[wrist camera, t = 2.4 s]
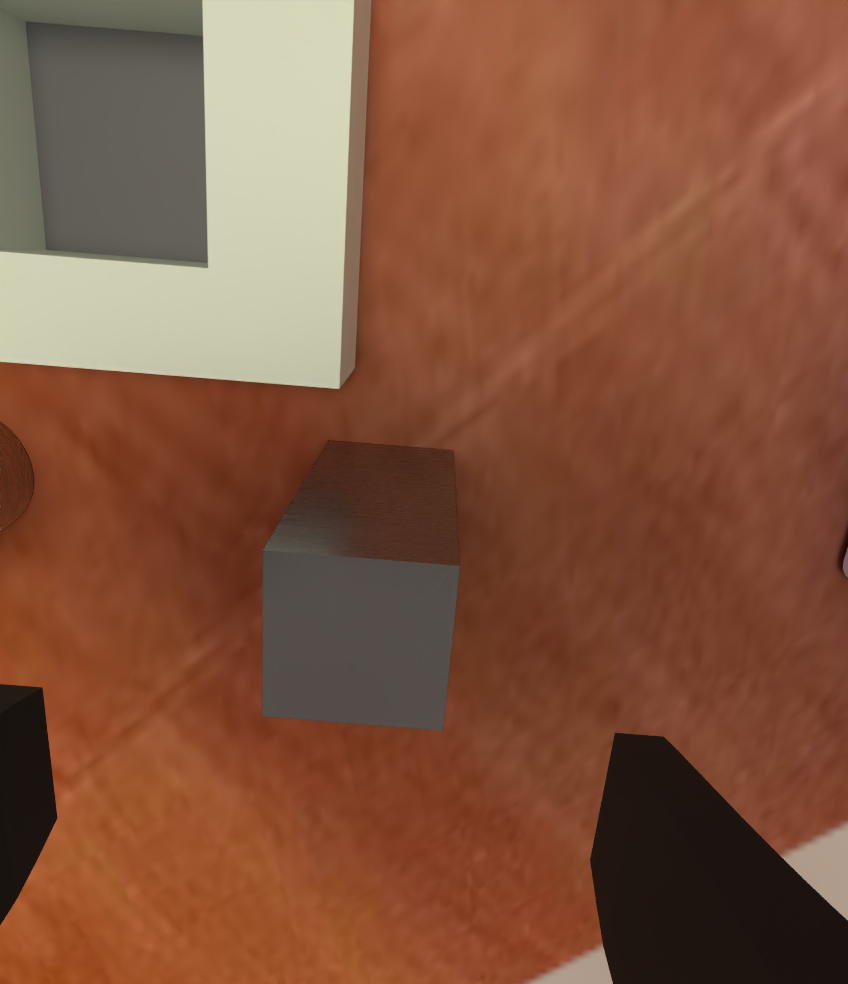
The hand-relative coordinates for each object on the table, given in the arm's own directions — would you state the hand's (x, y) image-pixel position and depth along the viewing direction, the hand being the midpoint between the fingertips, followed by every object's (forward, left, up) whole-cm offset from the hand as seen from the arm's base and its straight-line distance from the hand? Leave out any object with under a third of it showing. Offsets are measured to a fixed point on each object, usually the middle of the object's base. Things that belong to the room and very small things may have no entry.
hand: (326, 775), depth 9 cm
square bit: (0, 0, -10) cm, 10 cm away
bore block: (+6, -8, -10) cm, 14 cm away
